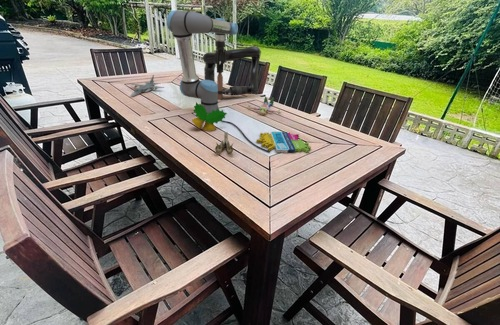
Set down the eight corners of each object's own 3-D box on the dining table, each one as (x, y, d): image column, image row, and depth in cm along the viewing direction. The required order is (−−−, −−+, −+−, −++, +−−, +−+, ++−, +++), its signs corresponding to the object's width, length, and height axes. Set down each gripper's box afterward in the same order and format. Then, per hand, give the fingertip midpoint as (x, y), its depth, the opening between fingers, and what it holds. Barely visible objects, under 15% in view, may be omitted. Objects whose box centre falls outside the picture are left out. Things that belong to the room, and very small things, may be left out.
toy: (286, 98, 212) (281, 108, 186) (285, 107, 216) (280, 118, 190) (253, 94, 217) (244, 103, 191) (252, 103, 221) (243, 112, 195)
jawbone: (234, 135, 144) (233, 125, 135) (233, 160, 138) (232, 151, 129) (217, 135, 144) (216, 125, 135) (216, 160, 138) (214, 150, 129)
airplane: (124, 86, 238) (122, 75, 233) (160, 84, 251) (158, 74, 246) (129, 99, 209) (126, 86, 204) (168, 96, 223) (167, 84, 217)
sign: (313, 150, 142) (258, 149, 139) (312, 153, 143) (258, 152, 140) (301, 132, 164) (254, 130, 161) (301, 134, 165) (254, 133, 162)
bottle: (220, 99, 222) (220, 71, 210) (216, 98, 224) (216, 70, 213) (223, 98, 225) (224, 70, 214) (219, 97, 227) (219, 70, 216)
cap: (222, 71, 216) (222, 69, 215) (222, 72, 212) (222, 69, 211) (217, 71, 215) (217, 68, 214) (217, 72, 212) (217, 69, 211)
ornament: (218, 133, 171) (224, 110, 169) (221, 134, 163) (227, 111, 161) (186, 125, 162) (192, 101, 160) (189, 126, 155) (195, 101, 153)
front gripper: (217, 41, 194) (217, 74, 206) (230, 41, 207) (229, 71, 219) (209, 40, 197) (210, 73, 209) (222, 40, 210) (222, 70, 222)
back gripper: (232, 84, 231) (214, 85, 224) (238, 88, 220) (219, 89, 213) (232, 93, 234) (214, 94, 228) (238, 97, 223) (219, 98, 217)
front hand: (220, 72), depth 214 cm, fingers closed on cap, 4 cm apart
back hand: (216, 91), depth 220 cm, fingers closed on bottle, 4 cm apart
